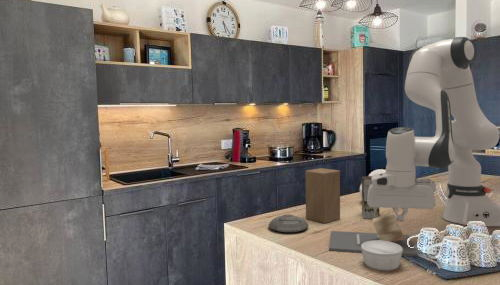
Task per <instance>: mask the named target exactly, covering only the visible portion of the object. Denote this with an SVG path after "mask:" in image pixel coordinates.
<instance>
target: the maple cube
mask: <svg viewBox="0 0 500 285" xmlns="http://www.w3.org/2000/svg"><path fill="white" fill-rule="evenodd" d="M372 223H373V227H374V229H375V231H376V233H378V236H379V238H380V240H382V241H389V242H395V241H398V240H401V239H404V236H403V235H404V234H403V231H402V229H401V228H400V224H399V223H398V221H397V219H396V216H395V212H394V211H392V212H391V211H390V212H389V213H386V214H383V215H379V217H377V218H374V219H372Z"/></svg>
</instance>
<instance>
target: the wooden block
mask: <svg viewBox="0 0 500 285" xmlns="http://www.w3.org/2000/svg"><path fill="white" fill-rule="evenodd" d="M305 219H307V220H310V221H312V222H318V223H321V224H327V223H330V222H334V221H338V220H340V219H341V171H340V170H338V169H332V168H331V169H330V168H321V167H320V168H319V167H318V168H314V169H308V170H305Z"/></svg>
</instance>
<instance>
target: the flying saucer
mask: <svg viewBox="0 0 500 285" xmlns="http://www.w3.org/2000/svg"><path fill="white" fill-rule="evenodd" d="M267 226H268V227H269V228H270V229H271V230H274V231H277V232H279V233H280V232H281V233H296V232H301V231H304V230H306V229H308V227H309V224H308V222H307V221H306V220H305V219H304V218H302V217H299V215H298V216H297V215H295V214H283V215H278V216H276V217H274V218H273V219H272V220H270V222H269V223H268V225H267Z"/></svg>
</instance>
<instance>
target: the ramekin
mask: <svg viewBox="0 0 500 285" xmlns="http://www.w3.org/2000/svg"><path fill="white" fill-rule="evenodd" d="M361 250H362V253H361V254H362V258H363V261H364V264H365V265H366V266H367V267H369V268H371V269H373V270H377V271H393V270H397V269H398V268H399V267H400V265H401V261H402V253H403V248H402V247H401V246H400V245H398V244H396V243H393V242H389V241H382V240H373V241H367V242H364V243H363V244H362V245H361Z"/></svg>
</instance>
